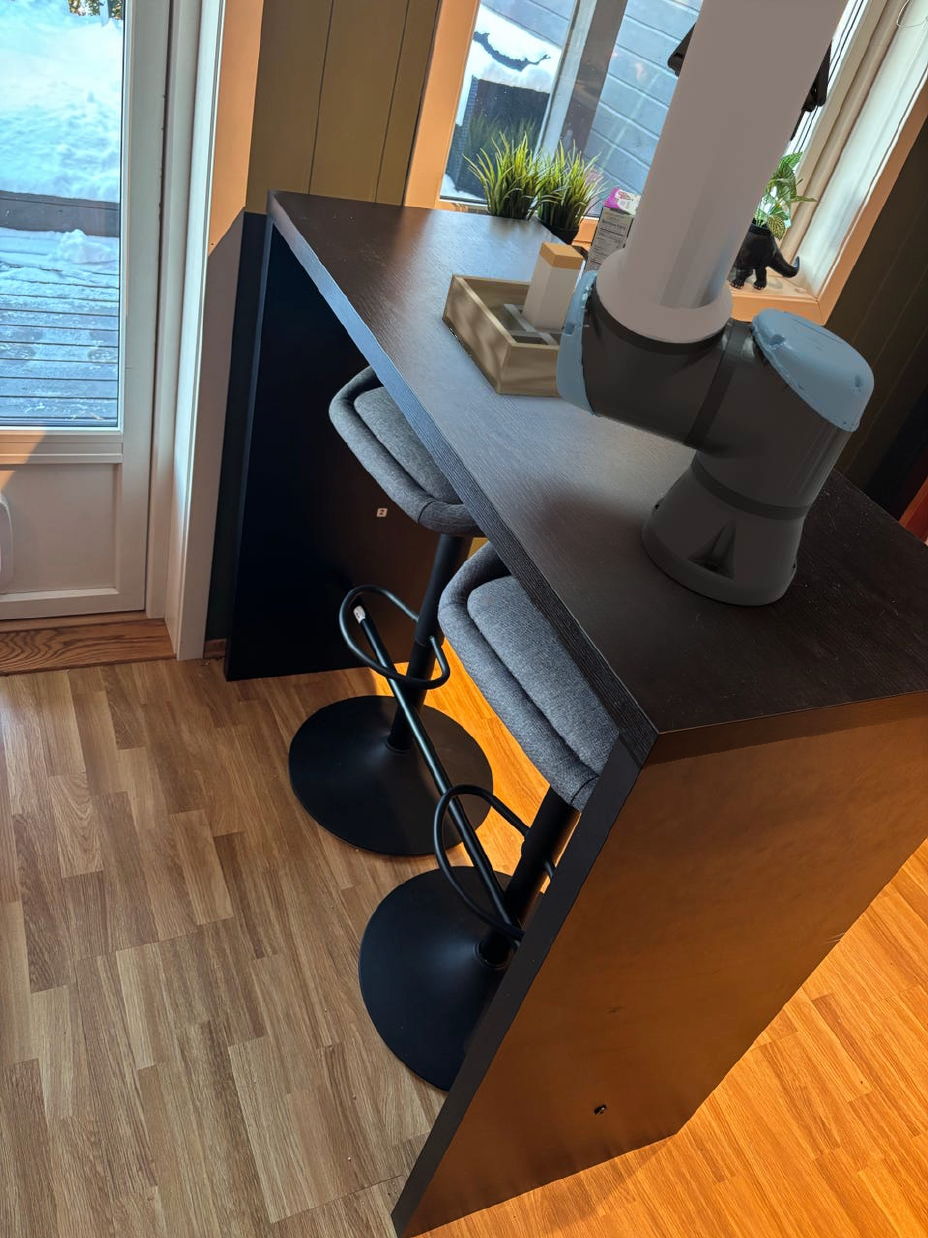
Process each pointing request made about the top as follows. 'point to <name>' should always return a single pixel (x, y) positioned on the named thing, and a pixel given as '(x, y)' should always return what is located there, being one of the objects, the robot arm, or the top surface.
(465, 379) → the top surface
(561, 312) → the plug
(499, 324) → the walled box
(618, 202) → the candy bar box
